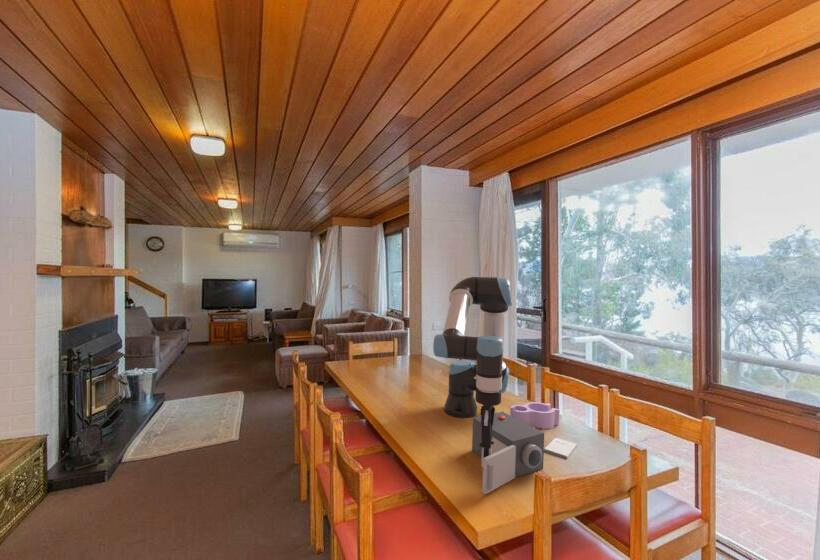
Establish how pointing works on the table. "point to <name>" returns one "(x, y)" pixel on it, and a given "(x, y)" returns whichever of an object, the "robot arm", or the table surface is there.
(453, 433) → the table surface
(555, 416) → the clip
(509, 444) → the camera housing
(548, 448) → the external hard drive
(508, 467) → the side door
